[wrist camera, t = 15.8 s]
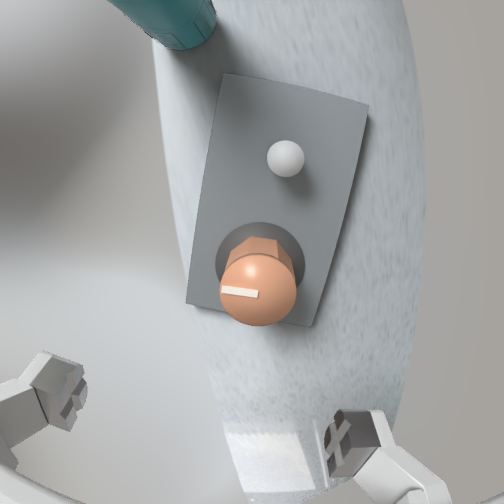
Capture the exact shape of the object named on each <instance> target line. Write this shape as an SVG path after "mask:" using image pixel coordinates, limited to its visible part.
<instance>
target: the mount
mask: <svg viewBox="0 0 504 504" xmlns="http://www.w3.org/2000/svg"><path fill="white" fill-rule="evenodd" d="M368 108H369V105H367V104H364V103H360V102H357V101H354V100H350V99H347V98H343V97H340V96H336V95H332V94H329V93H325V92H321V91H317V90H313V89H309V88H305V87H300V86H296V85H291V84H287V83H282V82H277V81H272V80H266V79H261V78H255V77H249V76H243V75H236V74H229V73H223V77H222V82H221V86H220V91H219V96H218V101H217V106H216V111H215V116H214V121H213V126H212V131H211V137H210V142H209V147H208V153H207V159H206V164H205V170H204V176H203V182H202V188H201V194H200V200H199V207H198V213H197V220H196V227H195V234H194V241H193V248H192V255H191V263H190V271H189V279H188V287H187V296H186V303H187V304H191V305H195V306H200V307H205V308H209V309H214V310H219V311H224V312H227V311H226V310H225V308H224V307H223V305H222V302H221V299H220V294H219V288H220V283H221V280H222V277H223V274H224V272H225V268H226V265H227V262H228V259H229V255H230V252H231V251H232V250H233V249H234V248H236V247H237V246H238V245H240V244H241V243H243V242H244V241H245V240H247V239H248V238H249V237H251V236H252V237H259V238H267V239H274V240H277V241H278V243H279V244H280V245H281V247H282V248H283V249H284V250H285V252H286V253H287V254H288V256H289V257H290V258H291V260H292V266H293V271H294V276H295V284H296V300H295V303H294V305H293V307H292V309H291V310H290V312H289V313H288V314H287V315H286V316H285V317H284V318H282V319H281V320H279V321H278V322H283V323H289V324H295V325H301V326H307V327H311V326H312V323H313V320H314V317H315V314H316V311H317V307H318V304H319V301H320V298H321V295H322V292H323V288H324V285H325V282H326V278H327V275H328V272H329V268H330V265H331V262H332V258H333V255H334V251H335V248H336V244H337V240H338V237H339V233H340V229H341V226H342V222H343V218H344V214H345V211H346V207H347V203H348V199H349V195H350V191H351V187H352V183H353V178H354V174H355V170H356V165H357V161H358V157H359V152H360V148H361V143H362V138H363V133H364V129H365V124H366V119H367V114H368Z"/></svg>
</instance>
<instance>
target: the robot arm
mask: <svg viewBox="0 0 504 504" xmlns="http://www.w3.org/2000/svg"><path fill="white" fill-rule="evenodd" d="M83 375H84V369H83V365H80V364H78V363H75V362H73V361H70V360H67V359H65V358H62V357H59V356H57V355H54V354H51V353H49V352H46V351H44V350H43V351H41V352H39V353H38V355H37V356H36V357H35V358H34V360H33V361H32V362H31V363H30V365H29V366H28V367H27V368H26V370H25V371H24V372H23V373H22V375H21V376H20V377H19V379H18V380H17V379H12V380H9V381H7V382H4V383H1V384H0V504H85V503H82V502H80V501H77V500H75V499H72V498H70V497H68V496H65V495H63V494H61V493H58V492H56V491H54V490H52V489H50V488H47V487H45V486H43V485H41V484H39V483H37V482H35V481H33V480H31V479H29V478H27V477H25V476H24V475H22V474H20V473H18V472H16V471H15V469H16V467H17V465H18V460H17V458H16V457H15V455H14V454H13V452H12V451H11V448H12V447H14V446H15V445H17V444H19V443H20V442H22V441H24V440H25V439H27V438H28V437H30V436H32V435H33V434H35V433H36V432H38V431H40V430H41V429H43V428H44V427H46V426H47V425H48V424H50V425H53V426H55V427H58V428H61V429H63V430H66V431H69V432H70V431H71V429H72V427H73V425H74V423H75V421H76V419H77V415H76V411H78V410H80V409H82V408H83V406H84V404H85V402H86V398H87V383H86V381H85V380H84V379H83V378H82V376H83ZM334 420H335V422H333V423H331V424H330V425H329V426H328V428H327V430H326V433H325V437H324V446H325V451H326V452H327V453H328V454H329V455H330V457H329V459H328V460H327V465H328V471H329V477H353V478H354V480H355V481H356V482H357V483H358V484H359V486H360V487H361V488H362V489H363V490H364V491H365V493H366V494H367V495H368V496H369V497H370V499H371V500H372V501H373V502H374V503H375V504H453V503H452V500H451V497H450V494H449V492H448V489H447V486H446V484H445V482H444V481H442V480H441V479H440V478H439V477H437V476H436V475H435V474H434V473H432V472H431V471H430V470H428V469H427V468H426V467H425V466H424V465H422V464H421V463H420V462H419V461H418V460H416V459H415V458H414V457H413V456H411V455H410V454H409V453H408V452H407V451H405V450H404V449H403V448H402V447H401V446H396V444H395V441H394V439H393V436H392V433H391V430H390V428H389V425H388V422H387V419H386V417H385V414H384V412H383V411H382V410H349V409H339V410H338V411H337V412H336V414H335V415H334ZM477 504H504V492H503V493H501V494H499V495H496V496H494V497H492V498H489V499H487V500H485V501H482V502H480V503H477Z"/></svg>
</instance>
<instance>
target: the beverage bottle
mask: <svg viewBox="0 0 504 504" xmlns="http://www.w3.org/2000/svg"><path fill="white" fill-rule="evenodd" d="M108 1H109V2H110V3H112V4H113V5H114V6H116V7H117V8H118V9H120V10H121V11H122V12H123V13H125V14H126V15H127V16H128V17H129V18H130V19H131V20H133V21H134V22H135V23H136V24H138V25H139V26H140V27H141V28H143V29H144V30H145V31H147V32H148V33H149V34H150V35H152V36H153V37H154V38H153V37H152V36H150V35H149V34H148V33H147V34H148V35H149V36H150V37H151V38H153V39H154V40H155V39H157V40H158V41H159V42H160V43H162V44H163V45H164V46H165V47H168V48H171V49H175V50H185V49H191V48H194V47H196V46H198V45H200V44H202V43H203V42H204V41H206V40H207V39H208V38H209V37H210V35H211V34H212V33H213V30H214V27H216V26H215V25H216V24H217V23H216V19H217V18H216V15H217V14H216V11H215V9H214V8H215V7H213V6H214V5H212V4H213V3H212V0H108ZM145 33H146V32H145ZM157 40H155V41H157ZM168 48H167V49H168ZM171 49H170V50H171Z"/></svg>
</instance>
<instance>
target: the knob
mask: <svg viewBox="0 0 504 504" xmlns="http://www.w3.org/2000/svg"><path fill="white" fill-rule="evenodd" d="M219 294H220V299H221V302H222V305H223V307H224V308H225V310H226V311H227V312H228V314H229V315H231V316H232V317H233V318H234V319H236V320H237V321H239V322H241V323H244V324H247V325H251V326H265V325H270V324H273V323H276V322H278V321H279V320H281V319H282V318H284V317H285V316H286V315H287V314H288V313H289V312H290V310H291V309H292V307H293V305H294V303H295V300H296V284H295V276H294V271H293V266H292V260H291V258H290V257H289V256H288V254H287V253H286V252H285V250H284V249H283V248H282V247H281V245H280V244H279V243H278V241H277V240H274V239H267V238H259V237H252V236H251V237H249V238H248V239H247V240H245V241H244V242H243V243H241V244H240V245H238V246H237V247H236V248H234V249H233V250H232V251H231V252H230V255H229V259H228V262H227V265H226V268H225V272H224V274H223V277H222V280H221V283H220V288H219Z"/></svg>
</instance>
